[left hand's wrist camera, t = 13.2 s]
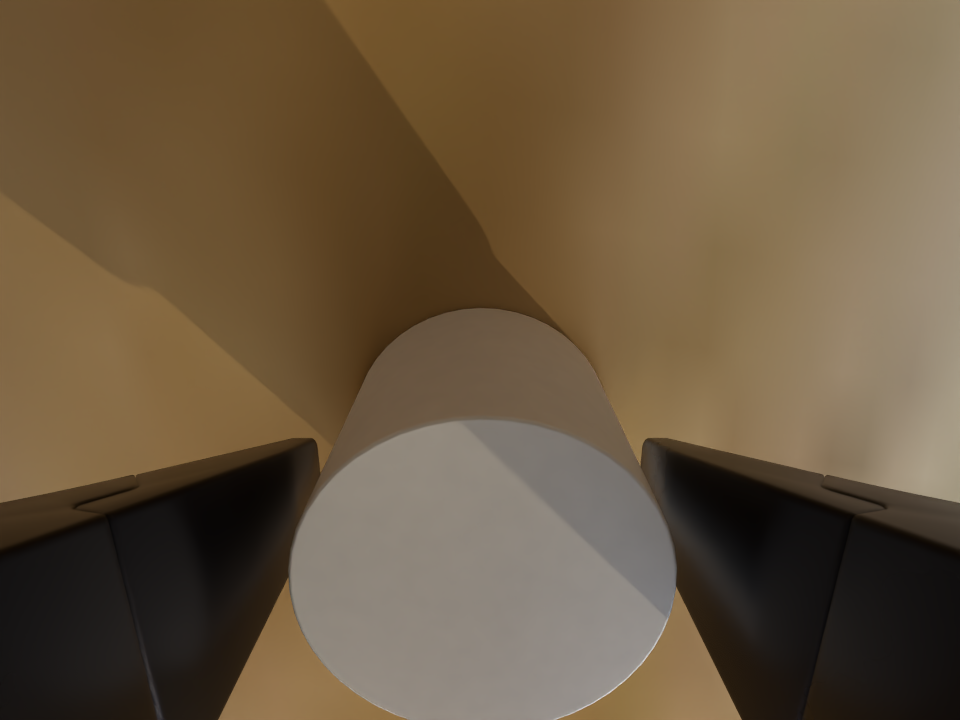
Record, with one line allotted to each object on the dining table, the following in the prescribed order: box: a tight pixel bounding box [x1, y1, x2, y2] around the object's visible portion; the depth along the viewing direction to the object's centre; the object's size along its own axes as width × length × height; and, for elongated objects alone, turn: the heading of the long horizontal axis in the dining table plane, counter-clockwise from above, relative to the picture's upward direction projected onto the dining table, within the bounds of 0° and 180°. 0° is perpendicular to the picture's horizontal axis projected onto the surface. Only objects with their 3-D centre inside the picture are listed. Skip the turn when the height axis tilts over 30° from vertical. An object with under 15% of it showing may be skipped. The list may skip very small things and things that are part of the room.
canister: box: [288, 308, 677, 720], centre depth 10 cm, size 5×5×5 cm
